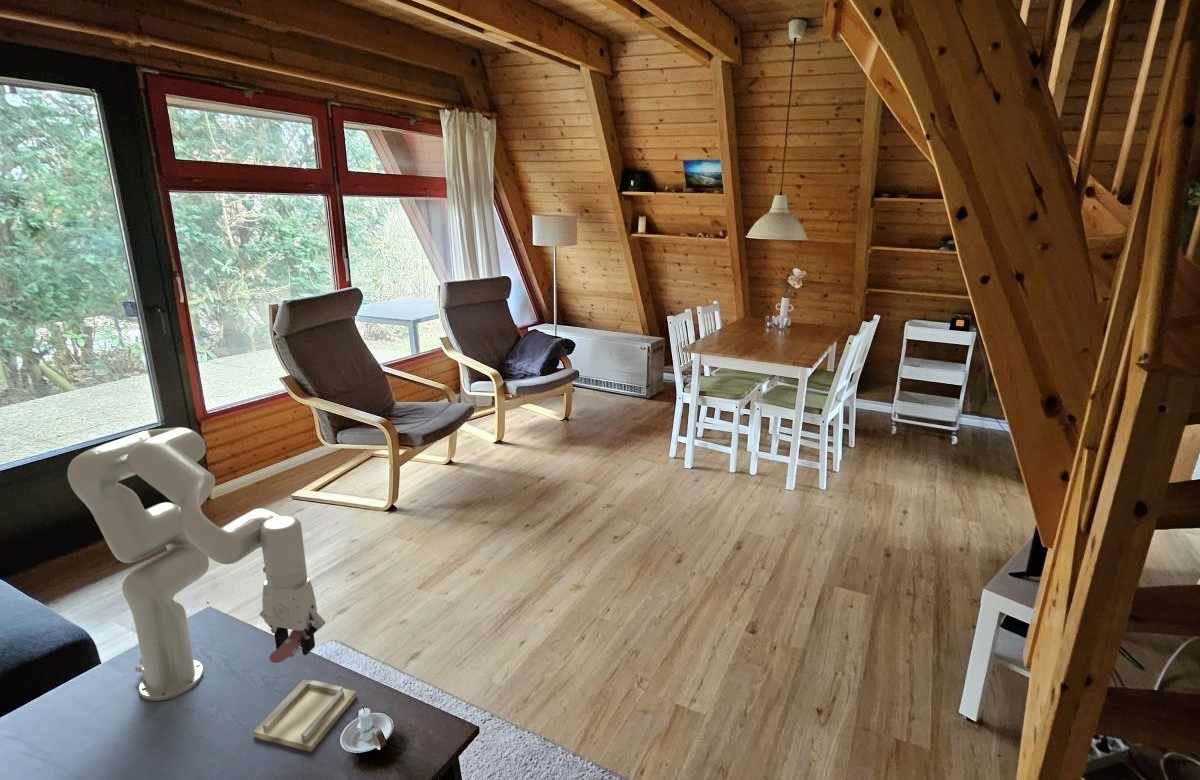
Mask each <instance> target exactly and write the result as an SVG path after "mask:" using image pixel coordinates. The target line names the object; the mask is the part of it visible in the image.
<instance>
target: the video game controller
mask: <svg viewBox="0 0 1200 780" xmlns="http://www.w3.org/2000/svg"><path fill="white" fill-rule="evenodd" d="M314 625H315V624H314ZM306 629H307V631H309V627H308V626H307V627H306ZM288 635H289V637H288V638H287V639H286V640H285V641H284V642H283V644H282V645H281V646H280V647H279V648H278V649H275V650H274V651H272V653H270V655H269V660H270V662H272V663H274V664H278V663H282V662H283V661H285V660H286V659H288V658H291V659H292V658H293V657H295V655H296V654H297V653H298V651H299V648H301V649H302V644H301V639H302V638H303V636H302V634H301V632H300V631H297V630H291V632H290V634H288Z"/></svg>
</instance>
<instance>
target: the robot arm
mask: <svg viewBox="0 0 1200 780" xmlns="http://www.w3.org/2000/svg"><path fill="white" fill-rule="evenodd" d="M206 450H207V448H206V443H205V441H204V439H203V438H202V436H201V435H200V434H198V432H196V431H195V430H193V429H191V428H187V427H181V426H179V427H169V428H167V427H166V428H158V429H147V430H143V431H139V432H135V433H133V434H129V435H126V436H123V437H121V438H118V439H116V440H112V441H109V442H108V441H107V442H105V443H103V444H100V445H98V446H95V447H92V448H89V449H87V450H85V451H84V452H81V453H80V454H78V455H77V456H75V457H74V458H73V459H72V460H71V462H70V463H69V465H68V467H67V479H68V480H67V481H68V483H69V485H70V488H71V489H72V491H73V493H74V494H75V495H76V496H77V497H78V498H79V500H81V502H83V504H85V506H86V508H87V509H89V511H90V513H91V514H92V515H93V518H94V521H95V522H96V524H97V526H98V528H99V530H100V532H101V534H102V536H103V538H104V540H105V542H106V543H107V545H108V547H109V549H110V551H111V554H112V555H113V556H114V557H115V558H116V559H117V560H118V561H119V562H121V563H125V564H130V563H134V562H138V561H139V560H142V559H144V558H146V557H148V556H150V555H152V554H153V553H155V552H157V551H159V550H161V549H163V548H164V547H165V549H166V550H167V551H165V552H162V553H161V554H160V555H158V556H155V557H154V558H152V559H149V560H148V561H146V562H145V563H143V564H142V565H139V566H138V567H137V568H135V569H134V570H133V571H131V572H130V573H129V574H128V575H127V576H126V577H125V579H124V580H123V582H122V585H121V589H122V590H121V591H122V594H123V597H124V599H125V602H126V603H127V605H128V607H129V610H130V612H131V615H132V617H133V618H132V619H133V621H134V622H133V623H134V627H135V630H136V636H137V640H138V641H137V642H138V645H139V646H138V647H139V651H140V656H141V657H140V659H139V664H138V665H136V666H135V669H134V671H135V672H137V673H142V679H141V681H140V683H139V686H138V691H139V695H140V696H141V697H142V698H143V699H145V700H147V701H155V702H156V701H166V700H169V699H173V698H176V697H178V696H181V695H182V694H185V693H186V692H188V691H190V690H191V689H192V688H193V687H195V686H196V685H198V683H199V682H200V681H201V679H202V678H203V675H204V667H203V664H202V663H201V662H200V661H198V660H195V659H194V654H193V647H192V641H191V635H190V630H189V623H188V617H187V613H186V609H185V608H184V606H183V605H182V604H181V603H179V602H177V601H175V600H174V597H175V596H176V595H177V594H178V593H180V592H182V591H183V590H184V589H185V588H187V587H189V586H190V585H192V584H193V583H195V582H197V581H199V580H200V579H201V578H203V576H205V575H206V573H207V572H208V570H209V565H210V562H209V559H210V560H212V561H214V562H217V563H218V564H222V565H232V564H235V563H238V562H240V561H241V560H243V559H244V558H245V557H247V556H249V555H250V554H252V553H253V552H254V551H256V550H258V549H260V548H261V549H262V557H263V563H264V567H263V568H262V571H263V573H265V578H266V579H265V580H264V582H263V587H262V600H261V602H262V610H261V611H260V612H259V616H260V617H261V618H262V619H263V620H264V622H265V624H266V625H268V626H269V628H270V632H271V633H272V634H274V642H275V650H277V649H278V648H279V647H280V646H281V645H282V644H283V642H284V641H285V640H286V639H287V638H288V637H289V635H290V634H289V630H291V631H293V630H297V631H300V632H301V634H302V636H303V638H302V639H301V644H302V648H301V650H302V651H301V652H302V655H303V656H307V655H308V654H309V653H310V652H311V651H312V650H313V649H314V648H315V647H316V641H315V634H316V633H317V632H318V631H319V630H320V629H321V628H322V627H324V626H325V625H326V621H325V620H324V619H323V618H322V615H321V616H320V614H319V613H318V607H317V602H316V597H315V592H314V589H313V585H312V582H311V579H310V578H309V577H308V573H307V563H306V555H305V547H304V538H303V530H302V524H301V521H300V520H299V519H298V518H297V517H294V516H291V515H280V514H278V513H277V512H274V511H272V510H270V509H268V508H264V507H263V508H262V507H258V508H254V509H251V510H250V511H248V512H246V513H244V514H243V515H241V516H239V517H237V518H235V519H233V520H231V521H230V522H228V523H227V524H225V525H223V526H221V527H219V526H218V525H216V524H215V523H213V521H211V520H210V519H209V518H208V517H206V515H205V514H204V513H203V510H202V508H201V506H202V505H203V504H204V503H205V501H206V500H207V499H208V498H209V496H210V495H211V493H212V492H213V490H214V488H215V485H216V478H215V475H214V474H213V473H212V472H210V471H209V470H207V469H206V468H204V467H203V466H201V465H200V464H199V463H198V462H199V461H200V460H202V458H203V457H204V456H205V454H206ZM136 475H137V476H138V477H140V478H141V479H142V480H143V481H145V482H146V483H147V484H149V485H150V486H151V487H152V488H154V489H155V490H156V491H158V492H159V493H161V494H162V495H163V496H164V497H165V498H167V499H168V500H170V501H171V502H167V501H165V502H160V503H157V504H155V505H152V506H150V507H148V508H146V509H145V508H144V506H143V503H142V502H141V499H140V497H139V496H138V494H137V493H136V492H135V491H134V490H133V489H131V488H129V487H128V486H126V485H124V484H123V483H119V482H121V481H123V480H125V479H128V478H130V477H133V476H136ZM314 624H315V625H314ZM307 626H308V627H309V631H307V629H306V627H307Z"/></svg>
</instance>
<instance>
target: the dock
mask: <svg viewBox="0 0 1200 780" xmlns="http://www.w3.org/2000/svg"><path fill="white" fill-rule="evenodd" d="M356 698H357V690H352V689H347V688H343V686H341V685H340V686H339V685H335V684H331V683H326V682H322V681H319V680H318V681H317V680H313V679H311V680H308V679H302V680H301V681H300V682H299V683H298V684H297V686H296V687H295V688H293V690H291V691H290V693H289V694H288V695H287V696H286V697H285V698H284V699H283V700H282V701H281V702H280V703H279V704H278V705H277V706H276V708H274V710H273V711H271V712H270V714H269V715H268V716H267V717H266V718H265V719H264V720H263V721H262V722H261V723H260V724H259V725H258V726H257V727H256V728H255V729H254V730H253V731H252V732H253V733H252V734H253V738H255V739H258V740H263V741H267V742H272V743H275V744H278V745H283V746H287V747H291V748H295V749H298V750H303V751H307V752H311V753H312V751H313V750H314V749H315V748H316V747H317V745H318V744H319V743H320V742H321V741H322V739H324V737H325V735H326V734H327V733H328V732H329V731H330V730H331V729H332V727H333V726H334V725H335V724H336V722H337V721H338V720H339V719H340V718H341V716H342V715H343V714H344V712H345V711H346V710H347V709H348V708H349V706H350V705H352V703H353V702H354V700H355V699H356Z"/></svg>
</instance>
